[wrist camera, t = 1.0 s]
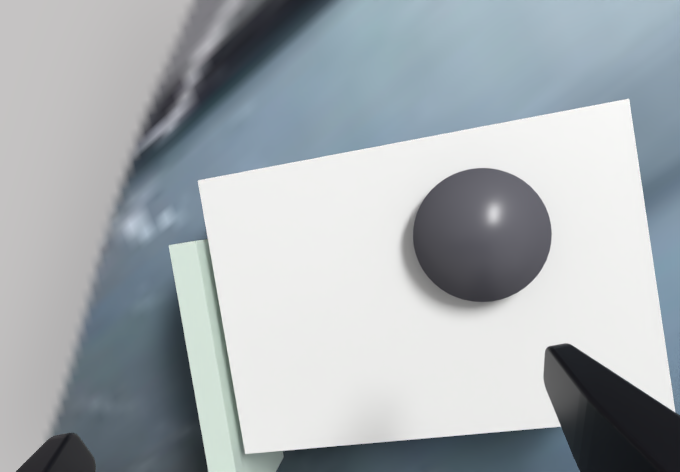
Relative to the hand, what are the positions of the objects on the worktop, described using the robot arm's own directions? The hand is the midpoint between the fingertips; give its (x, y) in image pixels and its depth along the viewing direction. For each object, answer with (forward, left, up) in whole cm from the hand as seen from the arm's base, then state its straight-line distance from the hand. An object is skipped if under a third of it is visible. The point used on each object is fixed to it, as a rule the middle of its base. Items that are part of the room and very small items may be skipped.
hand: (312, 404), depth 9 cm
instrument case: (+1, -2, -12) cm, 12 cm away
